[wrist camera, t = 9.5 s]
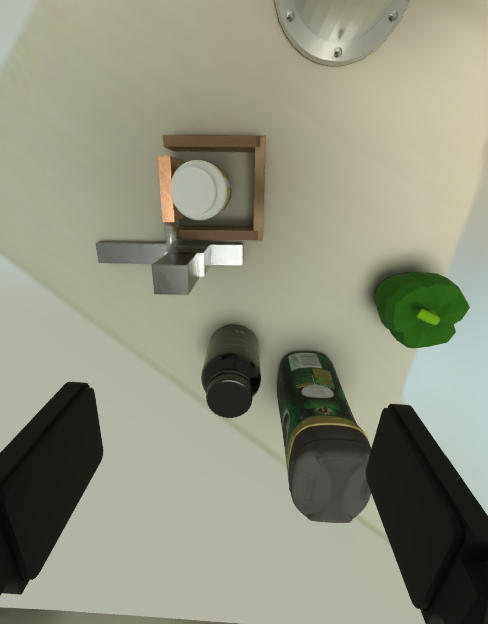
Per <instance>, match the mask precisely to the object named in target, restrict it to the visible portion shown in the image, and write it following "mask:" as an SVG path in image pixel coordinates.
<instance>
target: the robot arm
mask: <svg viewBox="0 0 488 624" xmlns="http://www.w3.org/2000/svg"><path fill="white" fill-rule="evenodd" d="M408 3H409V0H275V4H276V10H277V14H278V17H279V21H280V24H281V26H282V28H283V30H284V32H285V34H286V36H287V38H288V39H289V40H290V42H291V43H292V45H293V46H294V47H295V48H296V49H297V50H298V51H299V52H300V53H301V54H302V55H303V56H305V57H307V58H309V59H310V60H312V61H314V62H317V63H320V64H323V65H331V66H340V65H346V64H351V63H353V62H356V61H358V60H361V59H363V58H364V57H366V56H367V55H369V54H370V53H372V52H373V51H375V50H376V49H377V48H378V47H379V46H380V45H381V44H382V43H383V42H384V41H385V40H386V39H387V38H388V36H389V35H390V34H391V33H392V32H393V30H394V29H395V27H396V26H397V25H398V23H399V22H400V20H401V18H402V16H403V14H404V12H405V10H406V7H407V5H408ZM287 18H291V22H288V21H287V20H286V19H287ZM388 18H391V21H392V22H390V21H389V19H388ZM334 53H337V54H338V58H335V57H334ZM102 456H103V446H102V439H101V432H100V425H99V419H98V412H97V406H96V399H95V393H94V389H93V388H90V387H89V385H88V384H87V383H81V382H67V383H66V384H65V385H64V386H63V387H62V388H61V389H60V390H59V391H58V392H57V393H56V394H55V395H54V397H52V399H50V401H49V402H48V403H47V404H46V405H45V406H44V407H43V408H42V409H41V410H40V411H39V412H38V413H37V414H36V415H35V416H34V418H33V419H32V420H31V421H30V422H29V423H28V424H27V425H26V426H25V427H24V428H23V429H22V430H21V431H20V432H19V433H18V435H17V436H16V437H15V438H14V439H13V440H12V441H11V442H10V443H9V444H8V445H7V446H6V447H5V448H4V450H3V451H2V452H1V453H0V595H1V593H8V594H22V593H23V591H24V589H25V587H26V585H27V584H28V582H29V580H30V579H31V580H33V579H34V578H36V577H37V575H38V574H39V573H40V571H41V569H42V567H43V566H44V564H45V562H46V560H47V558H48V556H49V555H50V553H51V551H52V549H53V547H54V546H55V544H56V542H57V540H58V538H59V537H60V535H61V533H62V531H63V529H64V528H65V525H66V524H67V522H68V520H69V518H70V517H71V515H72V513H73V511H74V509H75V508H76V506H77V504H78V502H79V500H80V498H81V497H82V495H83V493H84V491H85V489H86V487H87V486H88V484H89V482H90V480H91V478H92V477H93V475H94V473H95V471H96V469H97V468H98V465H99V464H100V462H101V460H102ZM366 479H367V482H368V485H369V488H370V491H371V493H372V496H373V499H374V501H375V504H376V507H377V509H378V512H379V515H380V518H381V520H382V523H383V526H384V528H385V531H386V534H387V536H388V539H389V542H390V545H391V547H392V550H393V553H394V555H395V558H396V561H397V563H398V566H399V569H400V572H401V574H402V577H403V580H404V582H405V585H406V588H407V590H408V593H409V596H410V599H411V601H412V603H413V605H414V606H415V607H416V608H418V609H420V610H421V613H422V615H423V618H424V620H425V623H426V624H488V516H487V514H486V513H485V511H484V510H483V508H482V507H481V505H480V504H479V503H478V501H477V500H476V498H475V497H474V495H473V494H472V492H471V491H470V490H469V488H468V487H467V485H466V484H465V482H464V481H463V480H462V478H461V477H460V475H459V474H458V472H457V471H456V469H455V468H454V467H453V465H452V464H451V462H450V461H449V459H448V458H447V457H446V456H445V454H444V453H443V451H442V450H441V448H440V447H439V446H438V444H437V443H436V441H435V440H434V438H433V437H432V435H431V434H430V433H429V431H428V430H427V428H426V427H425V425H424V424H423V422H422V421H421V419H420V418H419V417H418V415H417V414H416V412H415V411H414V409H413V408H412V407H411V406H410V405H401V404H390V405H389V406H388V408H384V409H383V411H382V414H381V417H380V421H379V424H378V428H377V431H376V435H375V438H374V442H373V445H372V449H371V453H370V456H369V460H368V463H367V467H366ZM0 624H237V623H224V622H210V621H197V620H183V619H171V618H170V619H169V618H157V617H142V616H129V615H115V614H100V613H86V612H72V611H57V610H39V609H19V608H0Z"/></svg>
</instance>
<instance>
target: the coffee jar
mask: <svg viewBox="0 0 488 624" xmlns="http://www.w3.org/2000/svg"><path fill="white" fill-rule="evenodd" d="M277 398H278V405H279V411H280V417H281V424H282V432H283V439H284V447H285V454H286V463H287V471H288V480H289V490H290V492H291V496H292V500H293V503H294V504H295V506H296V508H297V509H298V510H299V511H300V512H301V513H302V514H303V515H305V516H306V517H307V518H308V519H309V520H311V521H317V522H331V523H349V522H351V521H352V519H353V518H355V517H356V516H357V515H358V514H359V513H360V512H361V511H362V510H363V509H364V508H365V506H366V505H367V503H368V501H369V498H370V495H371V491H370V488H369V485H368V482H367V479H366V467H367V463H368V460H369V456H370V453H371V447H370V444H369V441H368V438H367V436H366V435H365V433H364V432H363V430H362V429H361V428H360V427H359V426H358V425H357V423H356V421H355V419H354V417H353V415H352V412H351V410H350V407H349V405H348V403H347V400H346V398H345V395H344V393H343V390H342V387H341V385H340V382H339V379H338V377H337V374H336V371H335V369H334V367H333V364H332V362H331V361H330V360H329V359H328V358H327V357H326V356H324V355H321V354H317V353H309V352H302V353H294V354H291V355H289V356H287V357H286V358H285V359H284V360H283V361H282V363H281V365H280V368H279V373H278V380H277Z"/></svg>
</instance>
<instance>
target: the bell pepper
mask: <svg viewBox="0 0 488 624" xmlns="http://www.w3.org/2000/svg"><path fill="white" fill-rule="evenodd" d="M375 303H376V306H377V310H378V313H379V316H380V319H381V322H382V323H383V324H384V326H385V327H386V328H387V329H389V330H390V332H391V334H392V335H393V336H394V337H395V338H396V340H397V341H399V342H400V343H402V344H403V345H405V346H406V347H408V348H421V347H429V346H433V345H438V344H443V343H447V342H448V341H449V340H450V339H451V337H452V336H453V335H454V334H455V332H456V331H455V328H454V324H455V323H457V322H458V321H460V320H461V319H462V318H463V317H464V315H465V314H466V312H467V311H468V309H469V308H470V307H469V305H468V303H467V301H466V299H465V297H464V296H463V294H462V292H461V291H460V289H459V287H458V286H457V285H455V284H454V283H453V282H452V281H450V280H449V279H448V278H446V277H443V276H441V275H439V274H434V273H420V272H407V273H405V274H404V275H401V274H396V275H394V276H392V277H389V278H387V279H385V280H384V282H383V283H382V284H381V285H380V286H379V287H378V288H377V291H376V295H375Z"/></svg>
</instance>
